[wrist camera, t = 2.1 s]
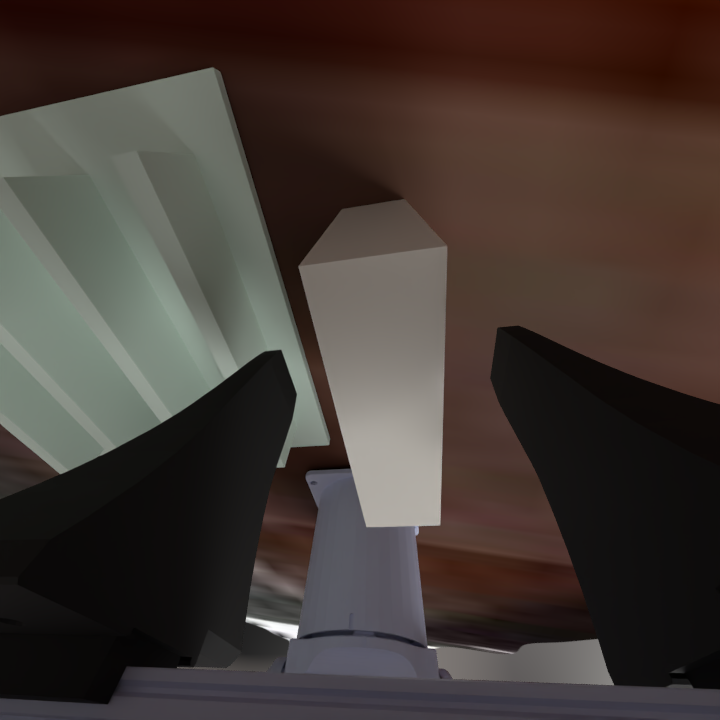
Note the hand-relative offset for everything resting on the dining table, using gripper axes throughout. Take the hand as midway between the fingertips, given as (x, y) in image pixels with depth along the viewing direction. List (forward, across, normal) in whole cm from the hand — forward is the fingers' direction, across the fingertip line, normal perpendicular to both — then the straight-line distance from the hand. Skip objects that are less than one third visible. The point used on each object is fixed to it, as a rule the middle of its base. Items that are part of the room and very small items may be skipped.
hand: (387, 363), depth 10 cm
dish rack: (+5, +13, 0) cm, 14 cm away
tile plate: (+5, 0, 0) cm, 5 cm away
